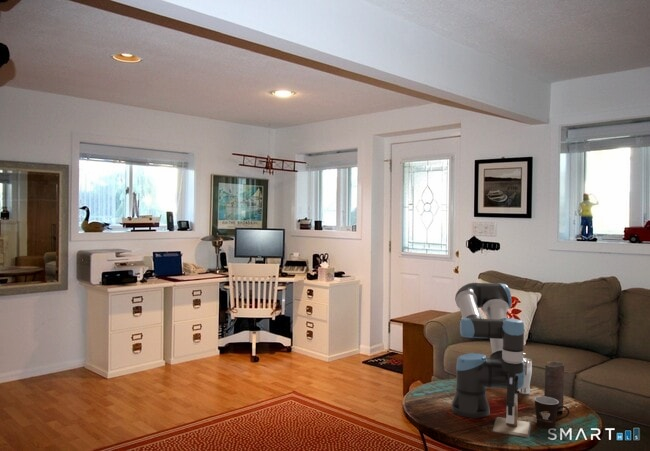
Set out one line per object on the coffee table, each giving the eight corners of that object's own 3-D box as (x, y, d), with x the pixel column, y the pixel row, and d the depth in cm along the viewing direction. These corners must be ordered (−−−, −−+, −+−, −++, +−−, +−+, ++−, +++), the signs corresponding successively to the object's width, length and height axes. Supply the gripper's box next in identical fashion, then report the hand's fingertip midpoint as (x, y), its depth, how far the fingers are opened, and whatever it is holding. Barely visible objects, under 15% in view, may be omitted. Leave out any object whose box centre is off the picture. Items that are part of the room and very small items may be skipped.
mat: (491, 432, 196) (491, 431, 196) (495, 419, 208) (495, 418, 208) (529, 439, 191) (529, 437, 191) (531, 425, 203) (531, 424, 203)
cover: (493, 431, 196) (493, 407, 196) (497, 419, 207) (497, 396, 207) (527, 437, 191) (528, 412, 191) (529, 424, 202) (530, 401, 202)
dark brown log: (565, 414, 214) (566, 365, 213) (546, 413, 215) (546, 364, 214) (560, 407, 221) (561, 360, 220) (542, 406, 223) (543, 359, 222)
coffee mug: (529, 425, 203) (529, 399, 203) (541, 419, 208) (542, 394, 208) (558, 435, 194) (558, 408, 194) (570, 429, 199) (570, 403, 199)
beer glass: (532, 391, 241) (533, 358, 241) (529, 395, 235) (530, 362, 235) (517, 388, 245) (517, 356, 244) (513, 392, 239) (514, 360, 238)
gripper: (520, 371, 186) (519, 430, 186) (525, 353, 208) (524, 407, 209) (498, 368, 189) (497, 427, 189) (505, 351, 211) (504, 404, 212)
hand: (511, 416), depth 199 cm, fingers open, 13 cm apart
